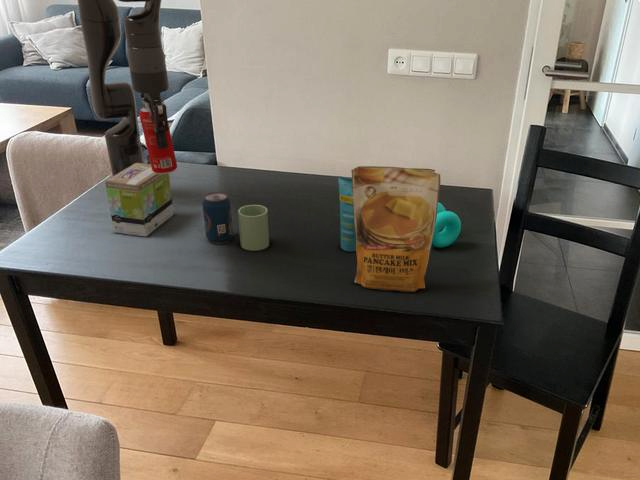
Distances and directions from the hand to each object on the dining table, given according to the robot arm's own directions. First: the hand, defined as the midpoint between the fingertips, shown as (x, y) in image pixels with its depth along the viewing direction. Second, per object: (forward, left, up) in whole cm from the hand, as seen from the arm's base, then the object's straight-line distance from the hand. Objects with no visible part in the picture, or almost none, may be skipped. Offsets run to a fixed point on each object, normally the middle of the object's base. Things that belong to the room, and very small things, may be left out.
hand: (159, 143), depth 134 cm
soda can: (0, +12, -28) cm, 30 cm away
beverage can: (0, 0, -7) cm, 7 cm away
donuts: (+27, +62, -28) cm, 73 cm away
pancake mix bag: (+40, +39, -28) cm, 62 cm away
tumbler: (+7, +19, -27) cm, 34 cm away
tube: (+20, +40, -28) cm, 52 cm away
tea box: (-18, -3, -28) cm, 33 cm away
